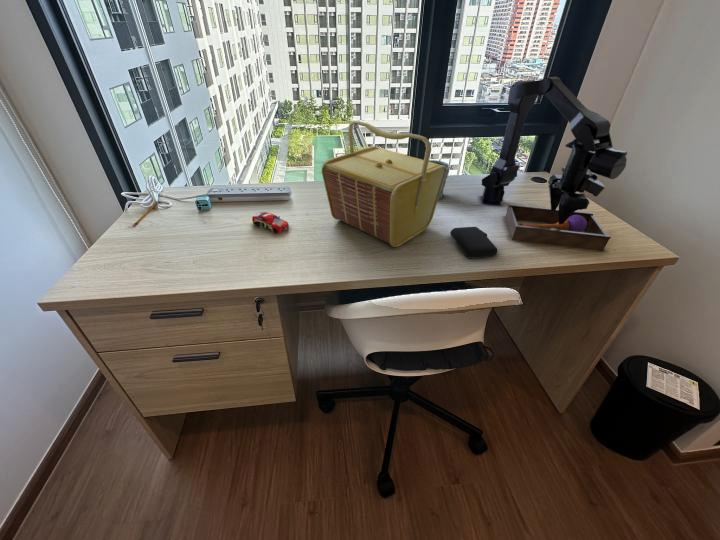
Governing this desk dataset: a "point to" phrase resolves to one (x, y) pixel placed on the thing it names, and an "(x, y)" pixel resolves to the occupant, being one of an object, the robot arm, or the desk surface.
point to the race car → (270, 222)
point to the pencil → (145, 214)
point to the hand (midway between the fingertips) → (556, 216)
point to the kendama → (565, 224)
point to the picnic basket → (383, 188)
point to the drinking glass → (446, 173)
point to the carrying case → (473, 242)
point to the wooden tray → (590, 240)
